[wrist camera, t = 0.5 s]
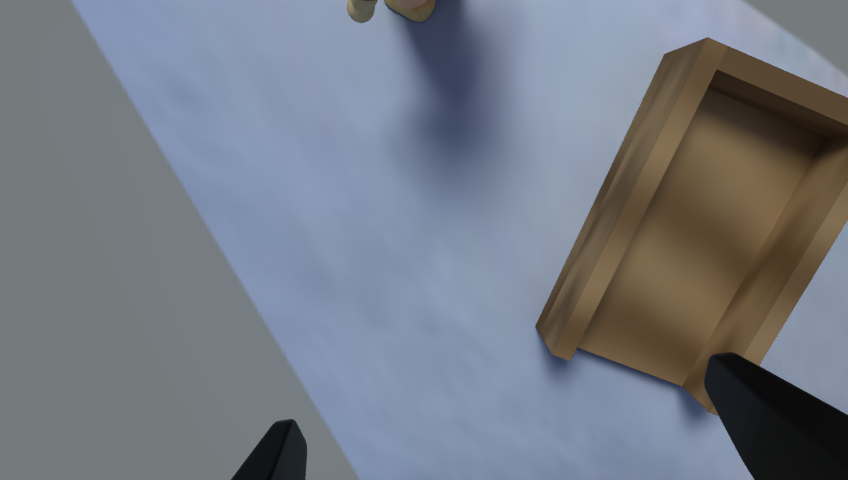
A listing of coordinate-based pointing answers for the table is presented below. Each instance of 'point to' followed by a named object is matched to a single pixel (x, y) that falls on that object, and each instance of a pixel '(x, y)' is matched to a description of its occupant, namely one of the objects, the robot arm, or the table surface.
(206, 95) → the table surface
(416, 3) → the grandmother figurine
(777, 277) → the open-ended wooden tray
